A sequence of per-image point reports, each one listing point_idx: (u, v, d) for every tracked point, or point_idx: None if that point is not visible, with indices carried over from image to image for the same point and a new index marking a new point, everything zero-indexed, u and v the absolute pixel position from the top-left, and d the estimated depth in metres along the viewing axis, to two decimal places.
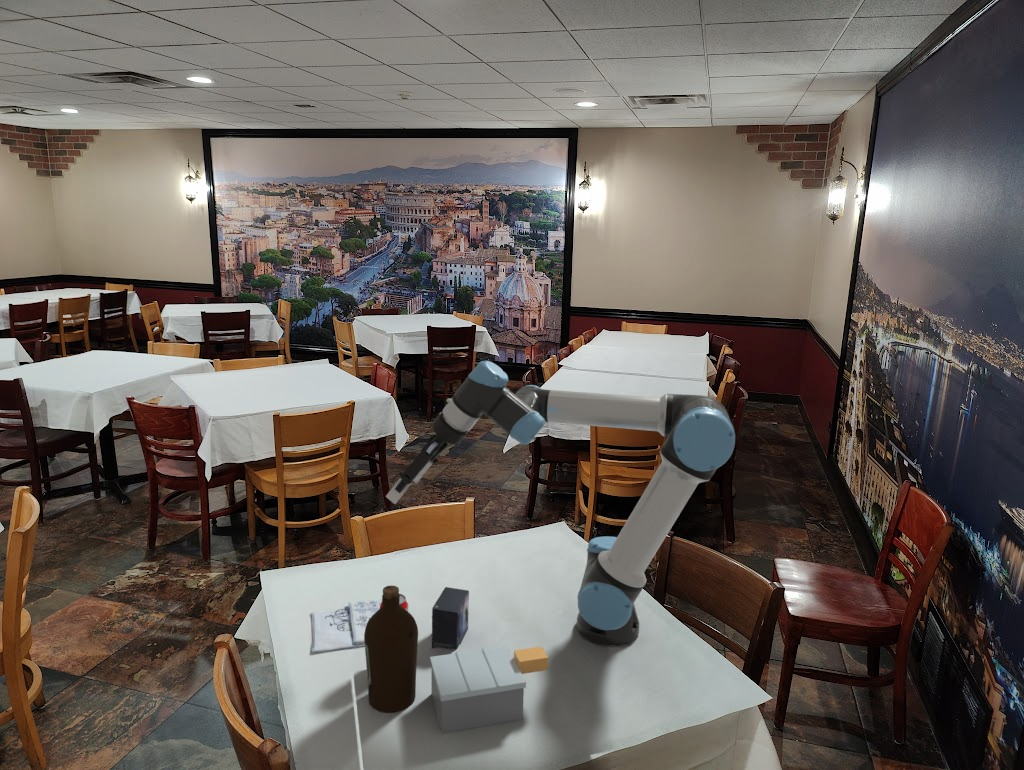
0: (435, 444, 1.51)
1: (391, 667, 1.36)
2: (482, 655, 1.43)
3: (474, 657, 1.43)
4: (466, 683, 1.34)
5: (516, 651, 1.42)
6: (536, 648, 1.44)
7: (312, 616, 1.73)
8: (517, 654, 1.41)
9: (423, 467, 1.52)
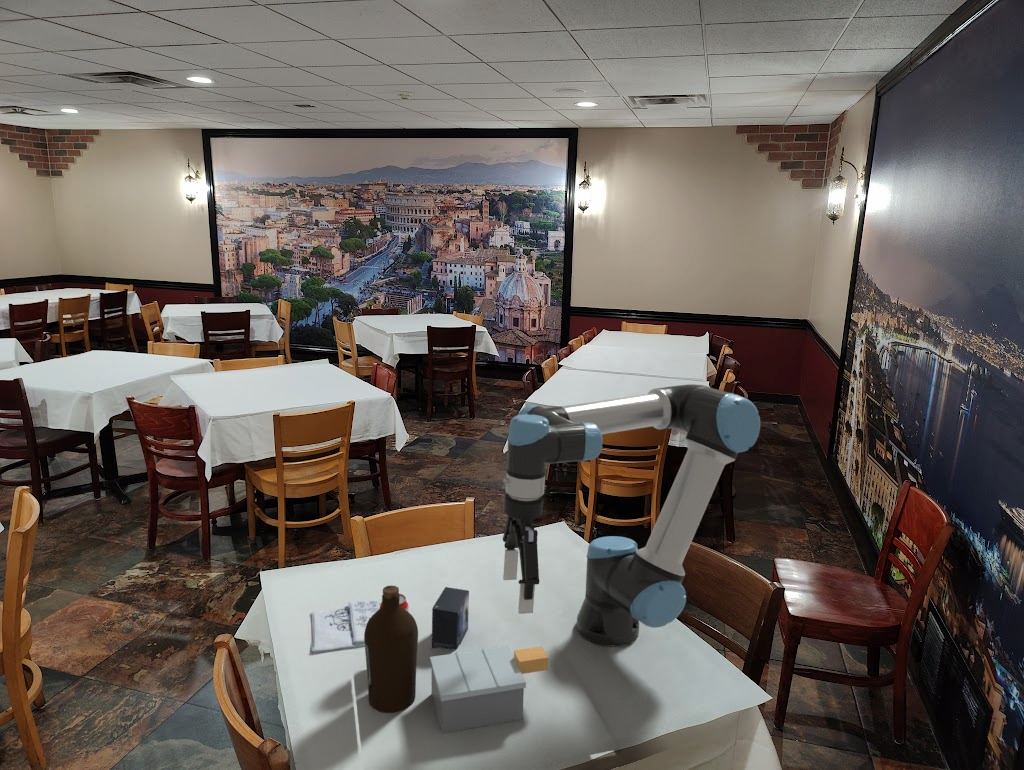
0: (528, 528, 1.32)
1: (391, 667, 1.36)
2: (482, 655, 1.43)
3: (474, 657, 1.43)
4: (466, 683, 1.34)
5: (516, 651, 1.42)
6: (536, 648, 1.44)
7: (312, 616, 1.72)
8: (517, 654, 1.41)
9: None
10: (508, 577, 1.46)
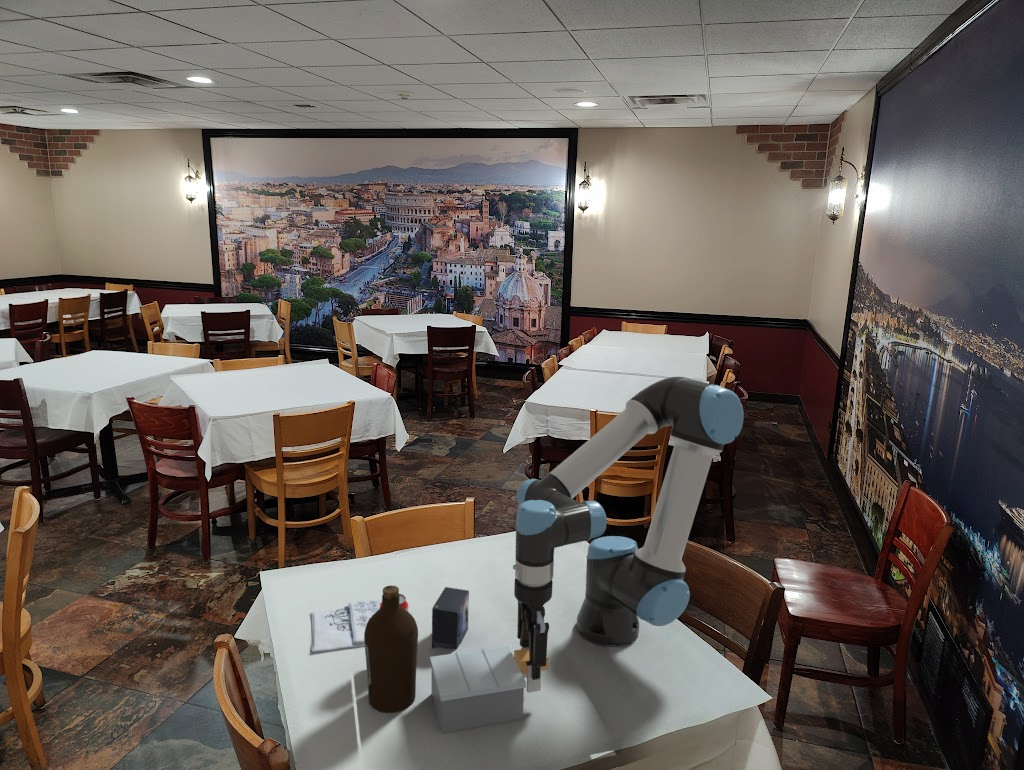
0: (540, 618, 1.35)
1: (391, 667, 1.36)
2: (482, 655, 1.43)
3: (474, 657, 1.43)
4: (466, 683, 1.34)
5: (516, 651, 1.42)
6: None
7: (312, 616, 1.73)
8: (517, 654, 1.41)
9: None
10: (525, 675, 1.45)
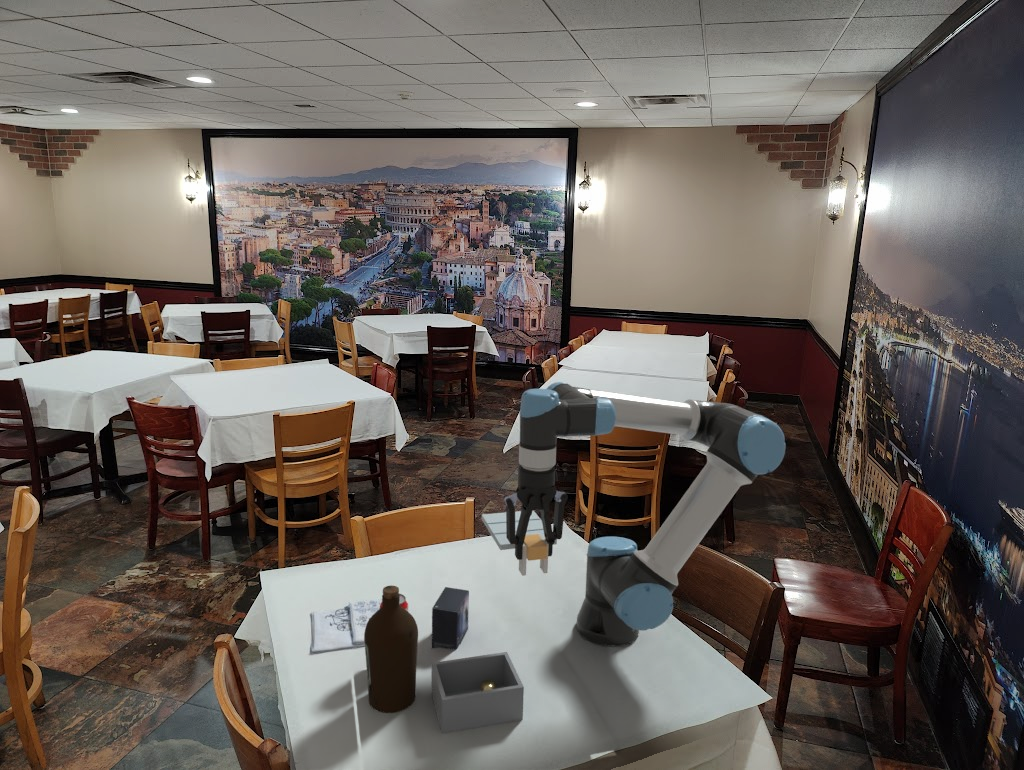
0: (513, 495, 1.42)
1: (391, 667, 1.36)
2: (538, 528, 1.56)
3: (535, 525, 1.57)
4: (497, 522, 1.58)
5: (536, 535, 1.49)
6: (543, 543, 1.45)
7: (312, 616, 1.73)
8: (531, 535, 1.48)
9: (522, 525, 1.42)
10: (541, 567, 1.48)
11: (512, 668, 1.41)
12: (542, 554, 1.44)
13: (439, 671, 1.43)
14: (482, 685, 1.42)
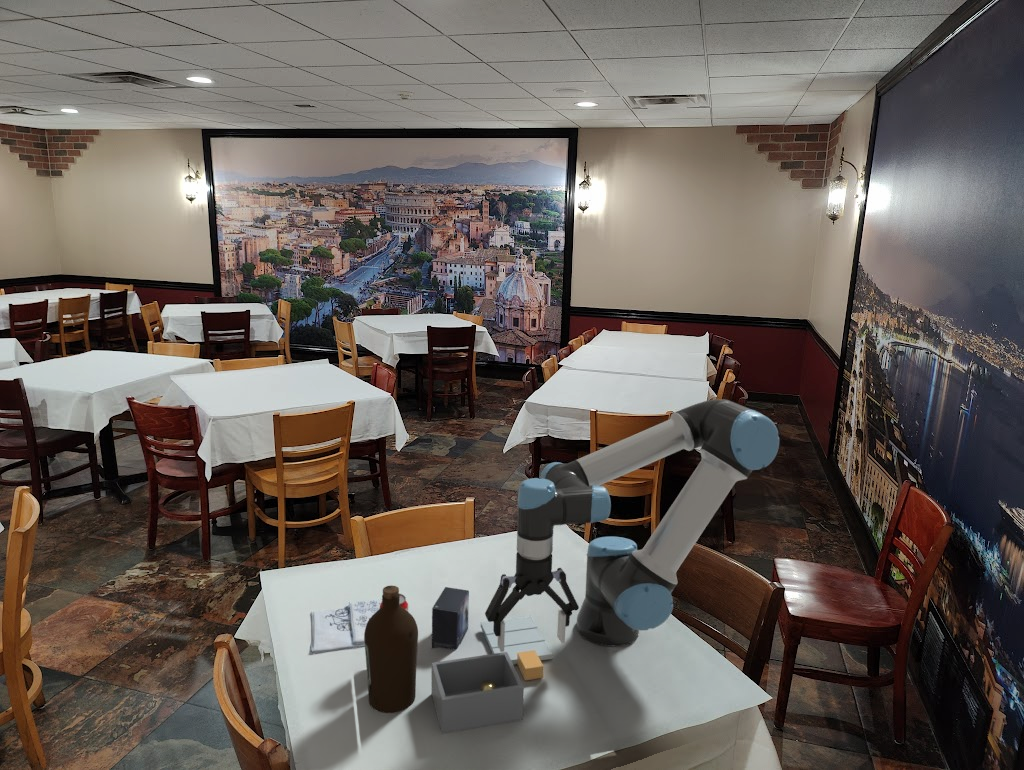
0: (512, 577, 1.46)
1: (391, 667, 1.36)
2: (535, 640, 1.62)
3: (532, 636, 1.63)
4: None
5: (533, 651, 1.54)
6: (539, 662, 1.50)
7: (312, 616, 1.73)
8: (528, 651, 1.54)
9: (508, 605, 1.46)
10: (558, 636, 1.53)
11: (512, 668, 1.41)
12: (538, 673, 1.49)
13: (439, 671, 1.43)
14: (482, 685, 1.42)
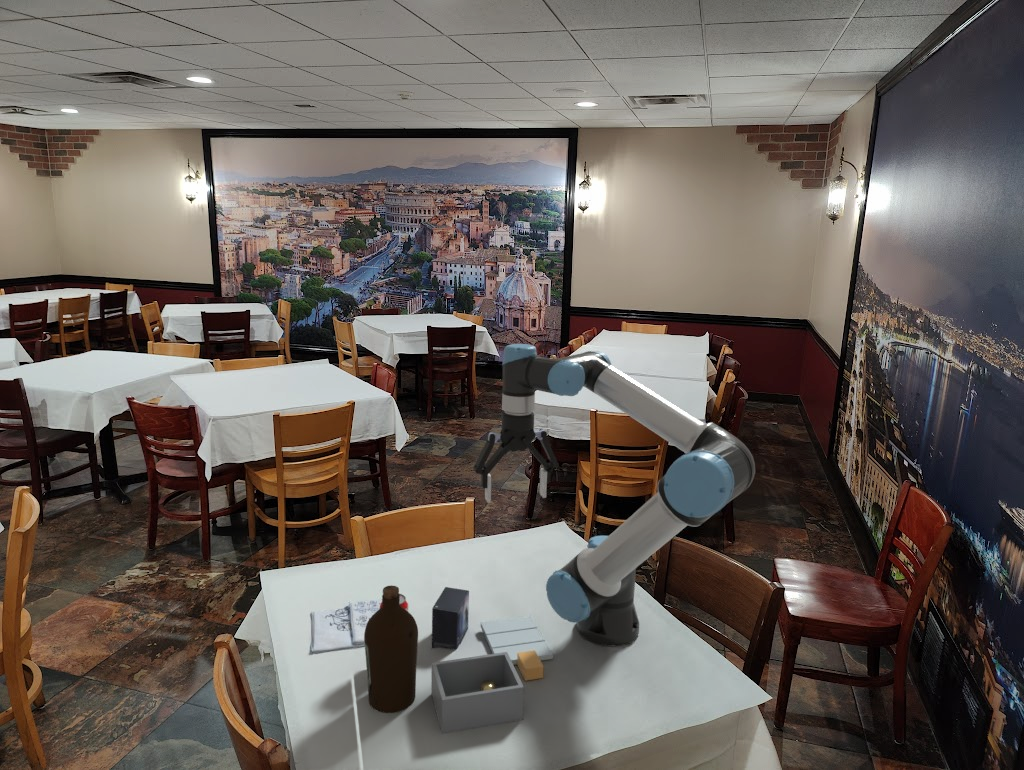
0: (498, 434, 1.61)
1: (391, 667, 1.36)
2: (535, 640, 1.62)
3: (532, 636, 1.63)
4: (495, 632, 1.64)
5: (533, 651, 1.54)
6: (539, 662, 1.50)
7: (312, 616, 1.73)
8: (528, 652, 1.54)
9: (494, 458, 1.61)
10: (540, 493, 1.68)
11: (512, 668, 1.41)
12: (538, 674, 1.49)
13: (439, 671, 1.43)
14: (482, 685, 1.42)
